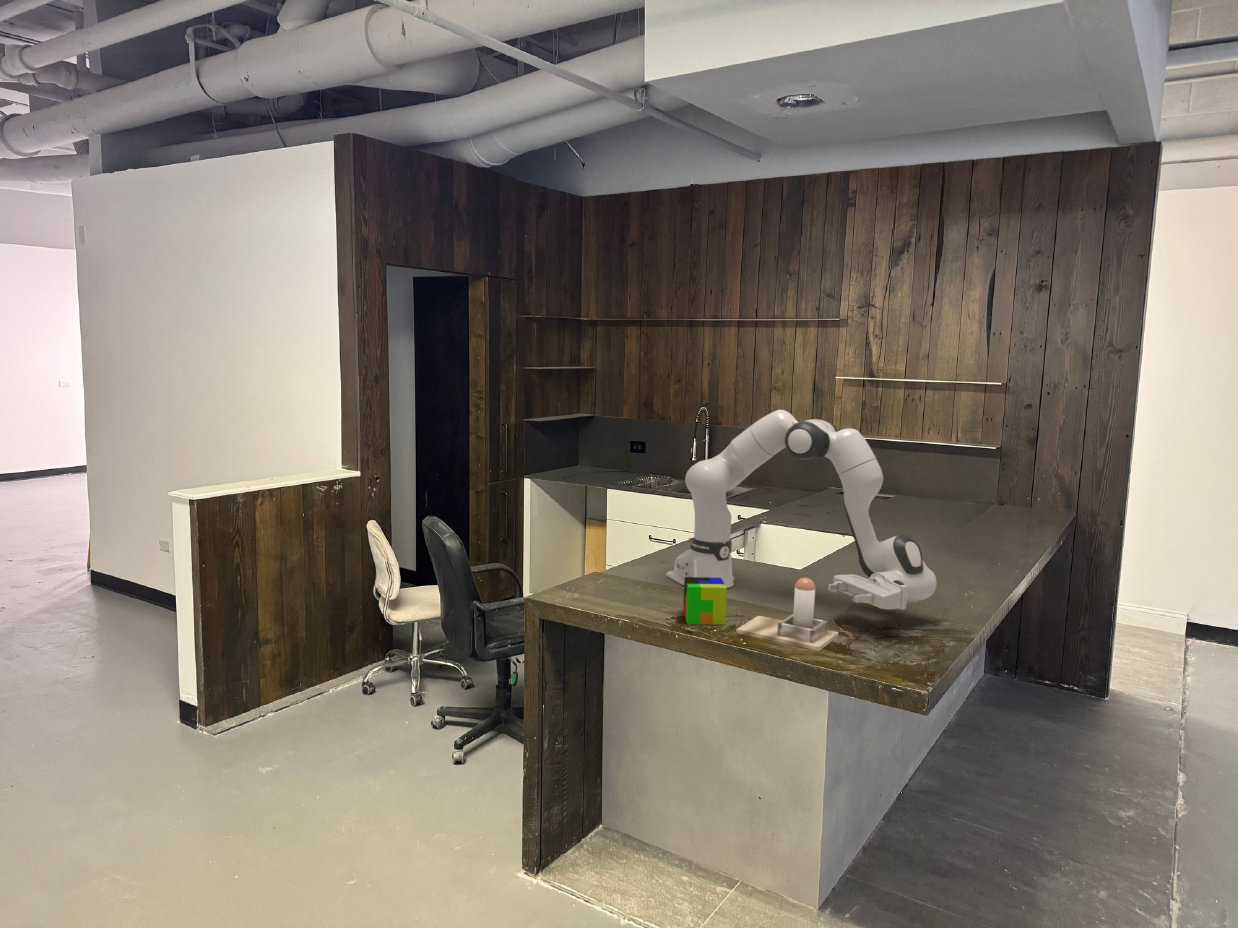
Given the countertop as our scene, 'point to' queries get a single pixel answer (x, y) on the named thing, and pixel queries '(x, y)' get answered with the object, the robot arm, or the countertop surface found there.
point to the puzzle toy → (704, 600)
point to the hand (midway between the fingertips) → (841, 593)
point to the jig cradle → (789, 632)
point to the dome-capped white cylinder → (804, 603)
